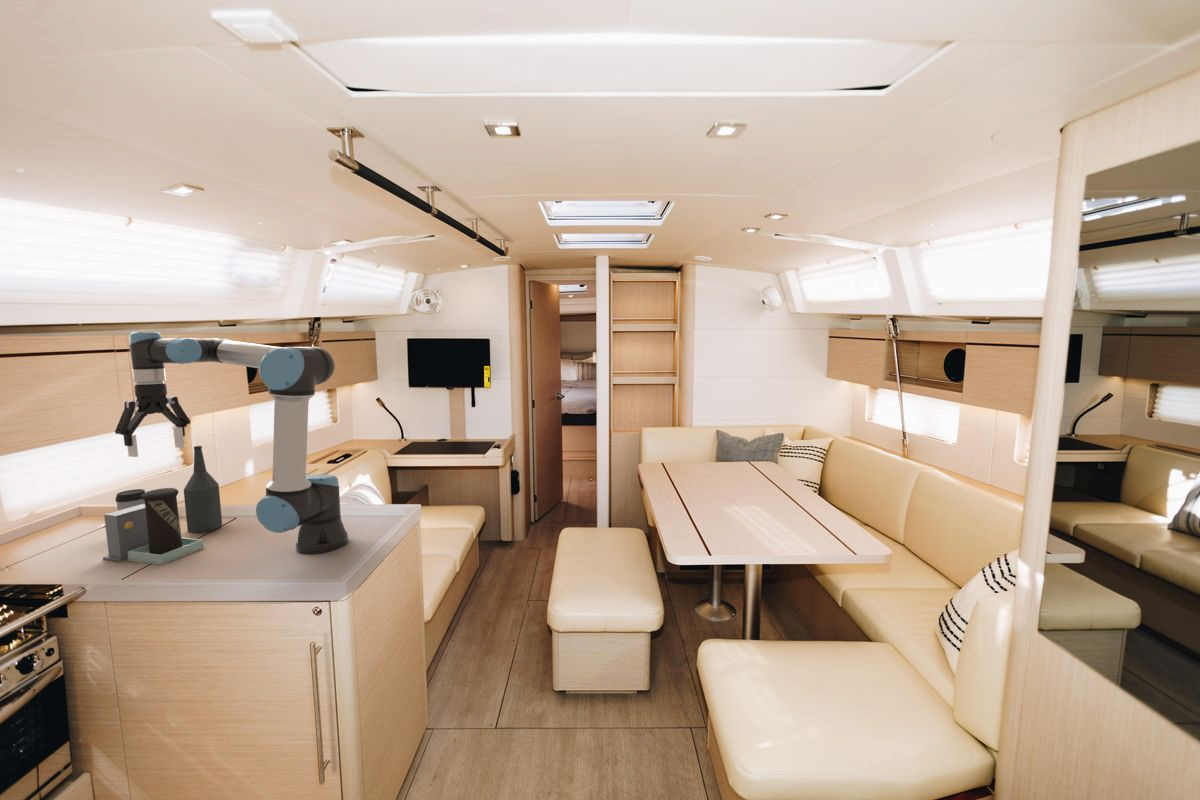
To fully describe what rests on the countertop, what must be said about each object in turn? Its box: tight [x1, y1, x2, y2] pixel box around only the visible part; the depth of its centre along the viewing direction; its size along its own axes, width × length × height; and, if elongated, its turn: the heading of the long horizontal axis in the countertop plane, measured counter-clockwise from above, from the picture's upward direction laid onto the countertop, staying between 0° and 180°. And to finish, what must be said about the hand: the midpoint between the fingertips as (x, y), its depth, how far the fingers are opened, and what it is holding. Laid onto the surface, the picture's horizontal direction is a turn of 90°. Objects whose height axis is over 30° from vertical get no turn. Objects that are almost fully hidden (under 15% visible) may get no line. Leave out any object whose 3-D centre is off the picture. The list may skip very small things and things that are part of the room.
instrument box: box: [102, 504, 149, 562], centre depth 170 cm, size 7×14×14 cm, turn 165°
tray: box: [127, 536, 205, 566], centre depth 169 cm, size 13×13×3 cm
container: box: [142, 487, 182, 555], centre depth 167 cm, size 9×9×20 cm
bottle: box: [183, 445, 223, 534], centre depth 190 cm, size 10×10×30 cm
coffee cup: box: [114, 488, 146, 511], centre depth 186 cm, size 8×8×15 cm
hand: (157, 451), depth 165 cm, fingers open, 13 cm apart
